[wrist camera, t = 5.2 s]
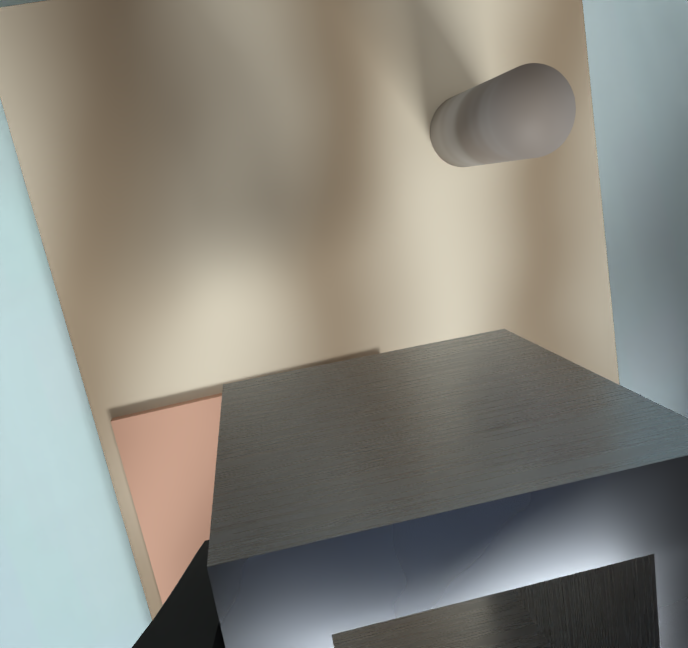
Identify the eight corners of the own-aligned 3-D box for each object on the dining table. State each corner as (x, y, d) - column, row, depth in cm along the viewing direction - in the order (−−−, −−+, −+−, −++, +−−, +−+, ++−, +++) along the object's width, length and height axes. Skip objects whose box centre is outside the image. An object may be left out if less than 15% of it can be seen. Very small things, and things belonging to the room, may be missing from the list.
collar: (504, 328, 12) (738, 443, 7) (531, 576, 14) (751, 863, 8) (223, 384, 12) (207, 566, 6) (276, 641, 13) (307, 1005, 7)
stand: (549, -59, 19) (683, -168, 14) (611, 533, 24) (732, 642, 18) (-3, 26, 17) (-123, -59, 12) (175, 653, 22) (154, 819, 16)
